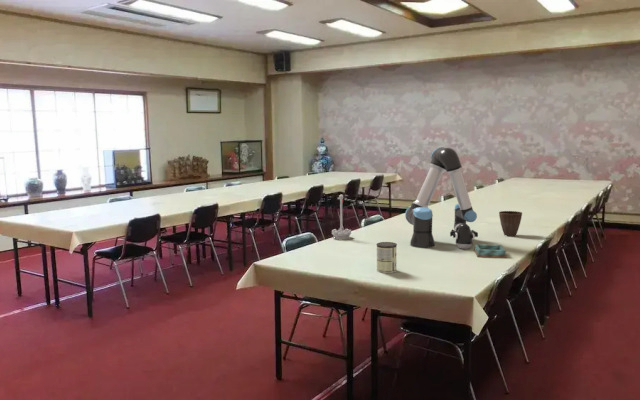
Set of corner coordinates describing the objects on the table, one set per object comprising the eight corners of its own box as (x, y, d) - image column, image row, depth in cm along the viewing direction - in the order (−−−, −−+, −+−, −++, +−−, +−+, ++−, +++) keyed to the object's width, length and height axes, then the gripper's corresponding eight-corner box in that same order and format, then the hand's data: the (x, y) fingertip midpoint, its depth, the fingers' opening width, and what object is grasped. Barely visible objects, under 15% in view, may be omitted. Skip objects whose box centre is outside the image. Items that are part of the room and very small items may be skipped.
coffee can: (375, 268, 280) (375, 242, 279) (394, 268, 281) (394, 241, 279) (378, 273, 270) (378, 246, 269) (398, 273, 271) (398, 245, 269)
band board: (477, 256, 304) (477, 250, 303) (474, 250, 319) (474, 244, 319) (506, 257, 301) (507, 250, 301) (501, 251, 317) (502, 244, 316)
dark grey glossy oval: (461, 250, 321) (461, 225, 319) (452, 247, 331) (452, 222, 329) (476, 249, 323) (476, 224, 321) (467, 246, 333) (467, 222, 331)
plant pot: (497, 236, 363) (497, 213, 361) (499, 232, 376) (500, 210, 374) (520, 238, 357) (521, 214, 355) (522, 234, 370) (523, 211, 368)
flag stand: (348, 240, 355) (347, 195, 351) (329, 239, 359) (329, 195, 356) (353, 236, 367) (353, 193, 364) (335, 235, 372) (334, 193, 368)
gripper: (479, 236, 342) (484, 243, 320) (444, 235, 346) (446, 242, 324) (479, 224, 341) (484, 231, 319) (444, 224, 345) (446, 230, 323)
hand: (465, 236), depth 322 cm, fingers closed on dark grey glossy oval, 9 cm apart
